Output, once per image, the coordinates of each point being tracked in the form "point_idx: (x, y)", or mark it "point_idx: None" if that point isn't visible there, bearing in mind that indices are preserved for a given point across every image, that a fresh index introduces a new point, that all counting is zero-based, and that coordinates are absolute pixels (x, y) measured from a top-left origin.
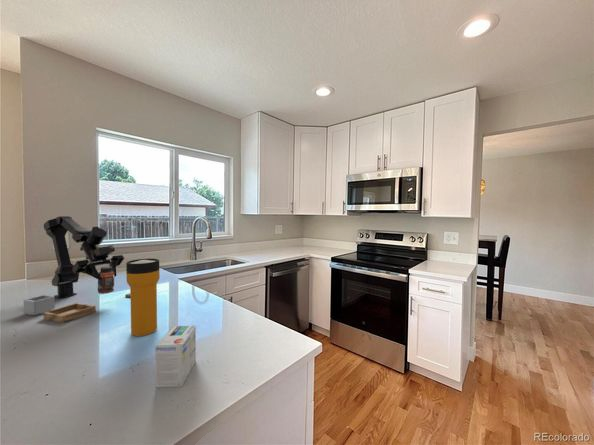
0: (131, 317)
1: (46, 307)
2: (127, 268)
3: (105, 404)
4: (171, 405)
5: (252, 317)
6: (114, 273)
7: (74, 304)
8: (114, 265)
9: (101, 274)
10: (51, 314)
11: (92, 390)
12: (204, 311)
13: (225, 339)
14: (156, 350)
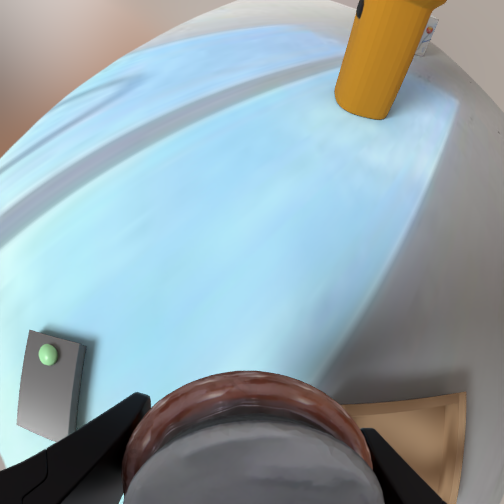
0: (403, 79)
1: None
2: None
3: (460, 81)
4: None
5: (220, 11)
6: (137, 420)
7: None
8: (7, 498)
9: (369, 451)
10: (460, 470)
11: (466, 97)
12: (204, 54)
13: (311, 21)
14: (436, 23)
